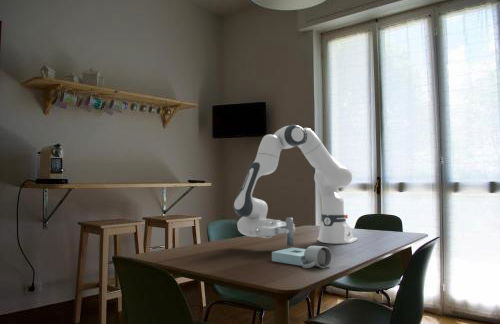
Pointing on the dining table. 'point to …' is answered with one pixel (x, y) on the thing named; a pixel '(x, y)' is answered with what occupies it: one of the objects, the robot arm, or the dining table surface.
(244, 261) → the dining table surface
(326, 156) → the robot arm
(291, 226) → the pin
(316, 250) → the ceramic mug
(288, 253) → the socket block
